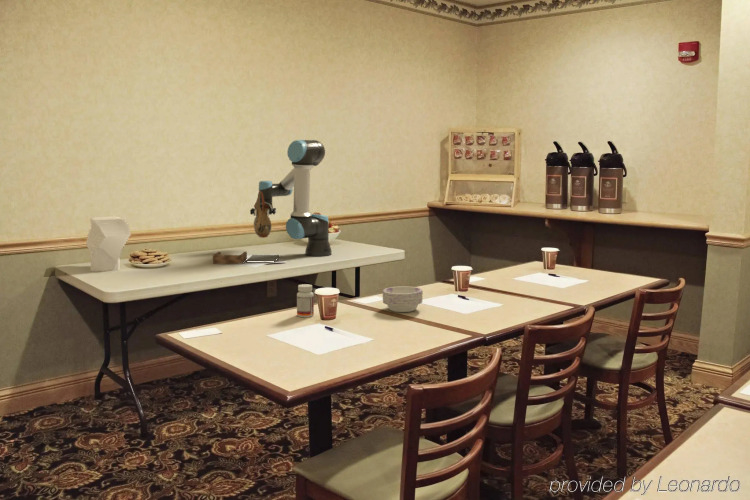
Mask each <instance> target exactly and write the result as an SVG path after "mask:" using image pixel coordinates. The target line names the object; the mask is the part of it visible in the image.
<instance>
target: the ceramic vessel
mask: <svg viewBox="0 0 750 500" xmlns="http://www.w3.org/2000/svg"><path fill="white" fill-rule="evenodd" d="M260 194H261V197H262V211H261V208H260ZM253 208H255V209H256V210H257V215H256V216H254V219H253V231H254V232H255V234H256V236H258V237H259V238H260V239H264V238H268V237H269V235H270V233H271V231H272V221H271V219H270V217H269V216H267V211H268V209H269V207H268V206H266V205H265V201H264V196H263V193H262V192H261V191H260V192H259V191H258V193H257V198H256V201H255V203H254V205H253Z"/></svg>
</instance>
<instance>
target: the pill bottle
mask: <svg viewBox="0 0 750 500" xmlns="http://www.w3.org/2000/svg"><path fill="white" fill-rule="evenodd" d="M297 290H298V292H297V293H296V316H298V318H310V317H313V316H314V315H315V314H314V313H315V305H314V303H315V301H314V300H315V299H314V298H315V296H314V292H312V291H313V285H312V284H307V283H306V284H305V283H304V284H303V283H302V284H298V286H297Z"/></svg>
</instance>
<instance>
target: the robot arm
mask: <svg viewBox="0 0 750 500" xmlns="http://www.w3.org/2000/svg"><path fill="white" fill-rule="evenodd" d="M325 155H326V148H325V146H324V144H323V143H322V142H321V141H318V140H316V139H312V140H311V139H299V140H298V139H296V140H293V141H292V142H291V143H289V146H288V147H287V157H288V159H289V161H291V165H292V167H293V168H292V169H291V170H290V171H289V172H288V173H287V175H285V177H284V178H283V179H282V180H281V181H280V182H279V183H273V182H272V181H271V180H260V181H259V182H258V193H259V192H260V191H261V192H262V193H263V196H264V201H265V205H266V206H268V207H269V209H268V211H267V216H268V217H269V216H270V215H272V214H273V215H276V213H277V208H276V207H274V205H273V198H274V197H287V196H291V195H292V193H293V211H292V212H291V213H290V218H288V220H287V221H286V223H285V229H286V233H287V234H288V236H289V237H290V238H291V239H294V240H302V239H303V240H304V239H307V244H306V247H305V251H304V254H305V256H311V257H326V256H331V255H333V253H332V252H333V251H332V247H331V244H330V240H329V234H330V233H329V229H330V228H329V225H330V224H329V223H330V222H329V216H328V215H326V214H315V213H311V212H310V191H311V188H310V187H311V186H310V185H311V184H310V183H311V171H312V169H313V168H315V167H318V165H320V164H321V162H322V161H323V160H324V158H325ZM260 208H261V211H262V197H261V194H260ZM249 211H250V214H249V215H253V216H254V217H256V215H257V210H256V209H255V208H254V207H253V208H251V209H250V210H249Z"/></svg>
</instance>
